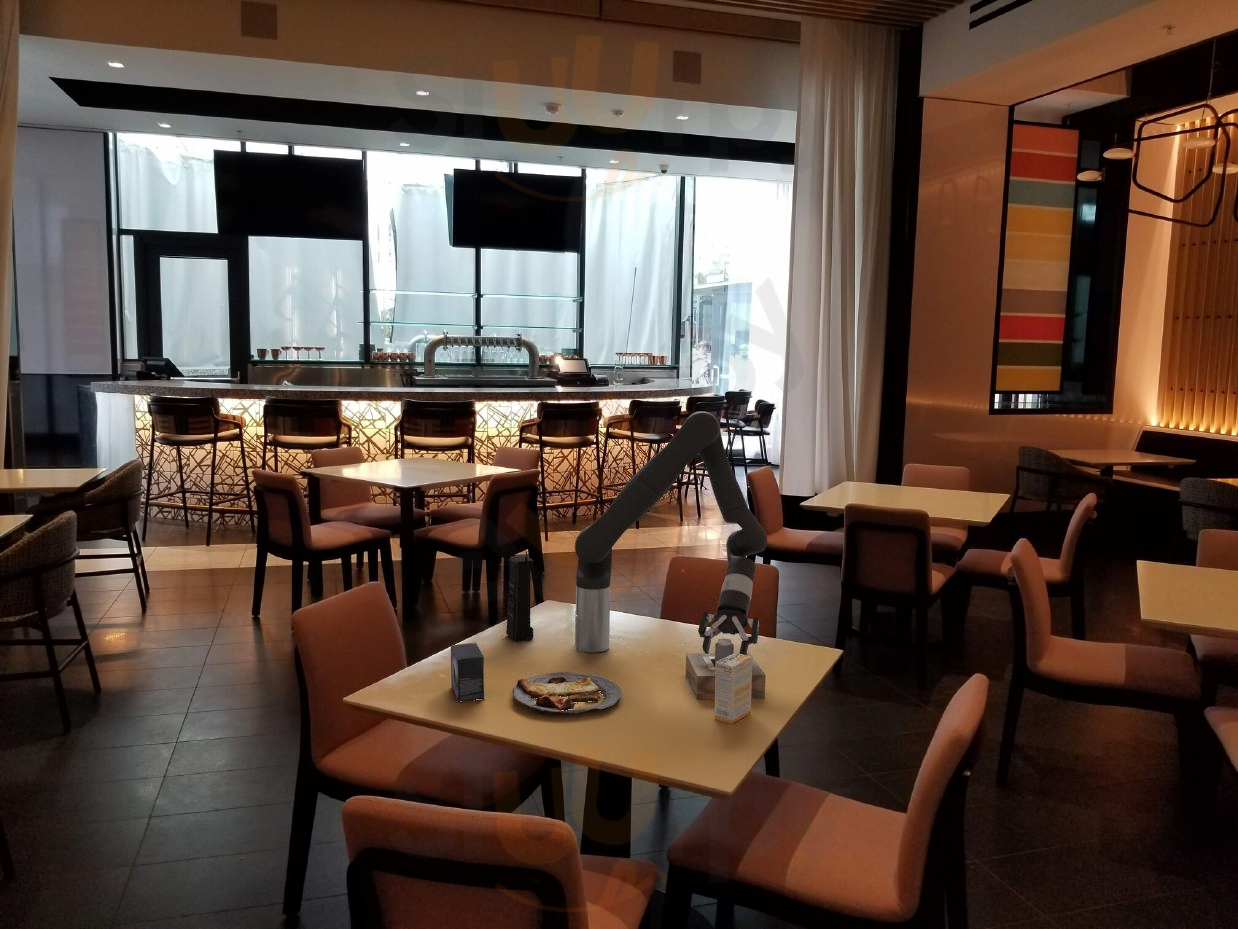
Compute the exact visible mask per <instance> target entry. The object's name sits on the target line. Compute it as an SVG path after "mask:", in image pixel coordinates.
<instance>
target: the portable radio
mask: <svg viewBox="0 0 1238 929" xmlns="http://www.w3.org/2000/svg"><path fill="white" fill-rule="evenodd" d="M534 563H535V560H534V559H532V558H530V557H529V556H528V551H527V550H526V551H525V555H513V556H509V559H508V587H509V588H508V589H509V591H508V592H509V593H508V594H509V597H508V598H507V612H506V620H507V621H506V630H505V634H506V635H507V636H508V637H509V639H511V640H512V641H513V642H514V643H518V642H525V641H530V640H531V641H532V640H533V639H534V628H533V626H531V584H532V583H531V578H532V577H531V573H532V571H534V570H535V568H534V565H535V564H534Z"/></svg>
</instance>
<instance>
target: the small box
mask: <svg viewBox="0 0 1238 929" xmlns="http://www.w3.org/2000/svg"><path fill="white" fill-rule="evenodd" d="M484 660H485V656H484V655H483V653H482V651H481V649H480V647H479V646H478V644H477V642H469V643H461V644H451V645H450V676H451V678H450V679H451V680H450V681H451V689H452V691H453V694H454V696H455V698H456V700H457V703H458V702H460V701H470V702H475V701H474V700H476V699H484V700H485V676H484V675H485V674H484V671H485V670H484V669H485V668H484V665H485V664H484V662H485V661H484Z"/></svg>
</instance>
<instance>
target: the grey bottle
mask: <svg viewBox="0 0 1238 929" xmlns="http://www.w3.org/2000/svg"><path fill="white" fill-rule="evenodd" d="M714 648H715V649H714V651H715V652H714V653H715V666H716V662H717V661H719V660H721V659H723V658H725V657H727V656H730V655H732V654H734V653H735V652H734V651H735V650H734V649H735V645H734V644H733V642H732V640H731V639H729V638H719V639H717V642H716V643H715V647H714Z"/></svg>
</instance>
